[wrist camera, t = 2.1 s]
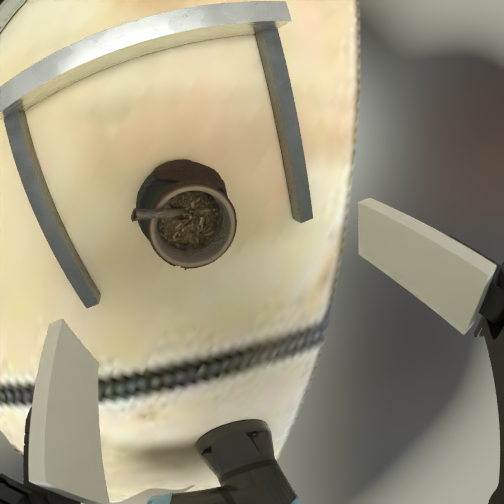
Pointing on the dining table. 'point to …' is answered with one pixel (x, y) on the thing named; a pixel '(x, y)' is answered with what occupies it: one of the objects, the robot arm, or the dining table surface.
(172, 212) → the mate gourd
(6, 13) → the tea box
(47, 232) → the u-shaped bar frame
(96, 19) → the dining table surface
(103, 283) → the dining table surface
